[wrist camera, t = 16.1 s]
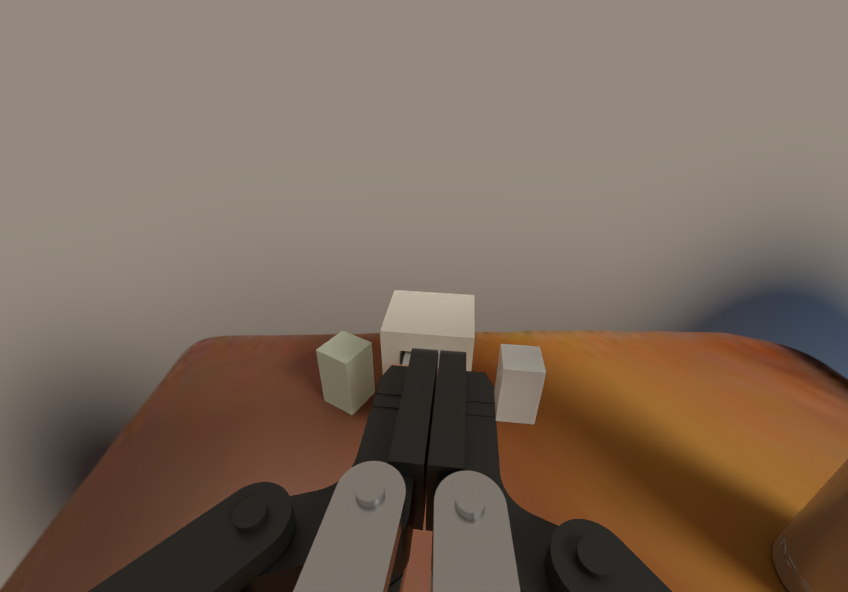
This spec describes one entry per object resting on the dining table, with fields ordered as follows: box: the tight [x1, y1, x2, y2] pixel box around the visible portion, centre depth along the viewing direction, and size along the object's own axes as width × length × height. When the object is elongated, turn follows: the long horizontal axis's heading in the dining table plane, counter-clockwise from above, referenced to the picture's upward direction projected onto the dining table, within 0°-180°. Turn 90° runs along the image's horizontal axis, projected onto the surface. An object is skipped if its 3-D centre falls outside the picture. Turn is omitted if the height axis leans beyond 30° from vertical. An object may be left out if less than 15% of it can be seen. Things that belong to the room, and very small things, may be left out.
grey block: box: [494, 344, 546, 424], centre depth 44 cm, size 4×4×8 cm
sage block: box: [316, 331, 375, 415], centre depth 46 cm, size 4×4×8 cm
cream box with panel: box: [380, 290, 475, 374], centre depth 43 cm, size 8×9×14 cm
